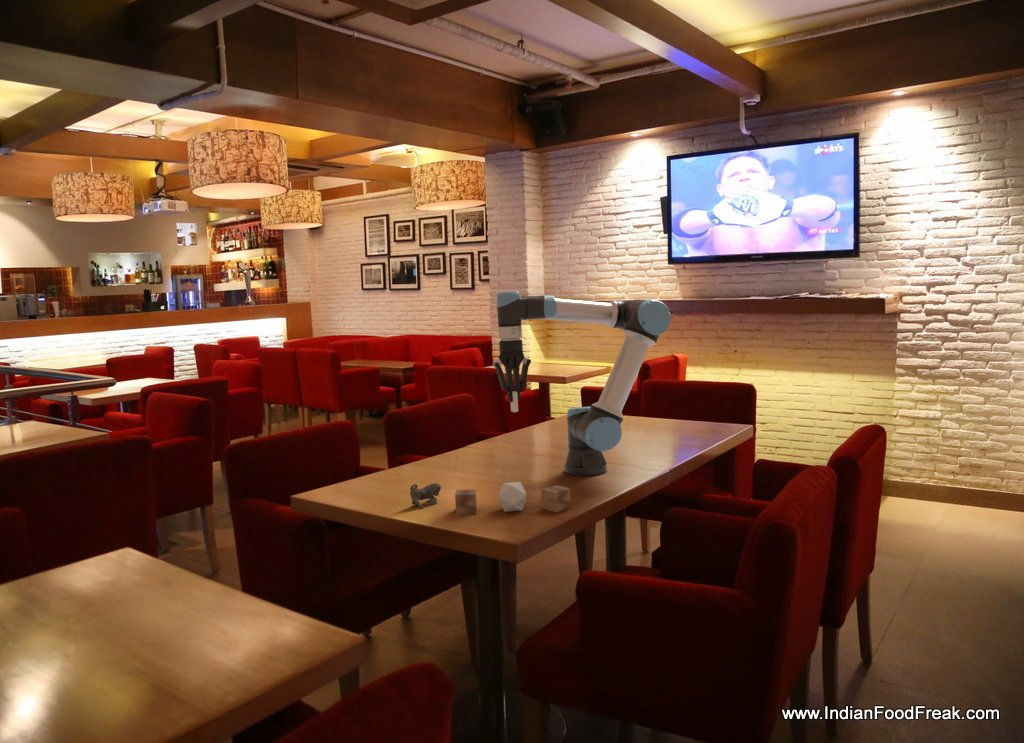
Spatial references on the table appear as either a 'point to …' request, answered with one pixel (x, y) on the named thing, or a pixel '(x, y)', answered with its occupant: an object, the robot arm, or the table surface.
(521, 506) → the die
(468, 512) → the walnut block
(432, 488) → the dog figurine
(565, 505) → the walnut block
